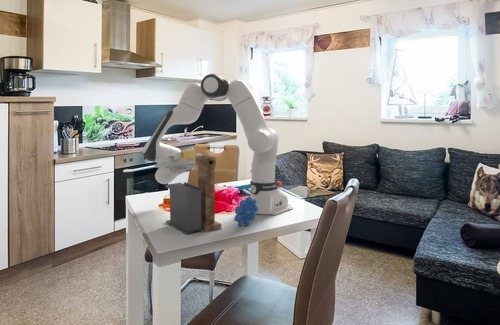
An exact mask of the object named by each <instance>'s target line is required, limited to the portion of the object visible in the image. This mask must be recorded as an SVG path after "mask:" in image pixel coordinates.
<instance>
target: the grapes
mask: <svg viewBox="0 0 500 325" xmlns="http://www.w3.org/2000/svg"><path fill="white" fill-rule="evenodd" d="M256 203H257V201H256V200H255V199H252V198H251V197H250V196H247V197H246V198H245V199H241V200H240V201H239V205H238V206H236V208H235V210H234V213H235V214H236V215H235V216H234V221H235V222H236V223H237V225H238V226H239V227H243V226H246V227H247V226H249V225H250V224H251V221H253V220H255V218H256V214H255V212H257V210H258V207H257V206H256Z"/></svg>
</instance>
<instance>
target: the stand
mask: <svg viewBox="0 0 500 325" xmlns="http://www.w3.org/2000/svg"><path fill="white" fill-rule="evenodd" d="M216 161H217V158H216V157H213V156H210V155H203V154H202V156H195V162H196V165H197V166H196V167H197V186H198V187H201V188H202V193H201V228H202V229H203V231H202V232H205V233H208V232H213V231H217V230H221V229H222V223H221V222H218V221H217V220H215V218H216V217H215V216H216V214H215V213H216V211H215V210H216V209H215V206H216V205H215V204H216V203H215V201H216V200H215V199H216V198H215V195H216V193H215V188H216V187H215V186H216V185H215V182H216V181H215V180H216V179H215V177H216V176H215V175H216V174H215V173H216V172H215V168H216V167H217V162H216Z"/></svg>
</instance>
